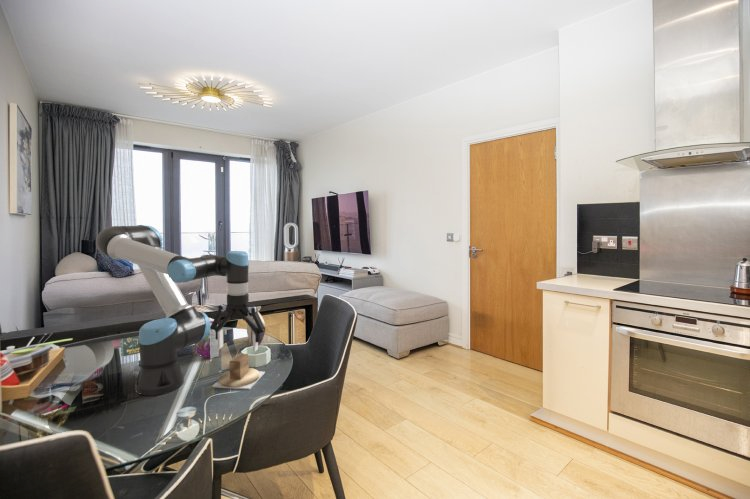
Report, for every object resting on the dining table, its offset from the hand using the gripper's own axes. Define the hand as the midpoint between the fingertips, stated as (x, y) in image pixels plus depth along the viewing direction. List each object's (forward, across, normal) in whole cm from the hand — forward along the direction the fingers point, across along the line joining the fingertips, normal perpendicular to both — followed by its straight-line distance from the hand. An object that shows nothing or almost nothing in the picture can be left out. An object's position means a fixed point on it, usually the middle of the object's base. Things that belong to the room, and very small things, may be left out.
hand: (237, 349), depth 136 cm
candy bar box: (+13, +24, -21) cm, 34 cm away
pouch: (+12, +8, -36) cm, 39 cm away
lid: (+11, -1, 0) cm, 11 cm away
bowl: (+12, 0, -17) cm, 21 cm away
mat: (+12, -1, 0) cm, 12 cm away
